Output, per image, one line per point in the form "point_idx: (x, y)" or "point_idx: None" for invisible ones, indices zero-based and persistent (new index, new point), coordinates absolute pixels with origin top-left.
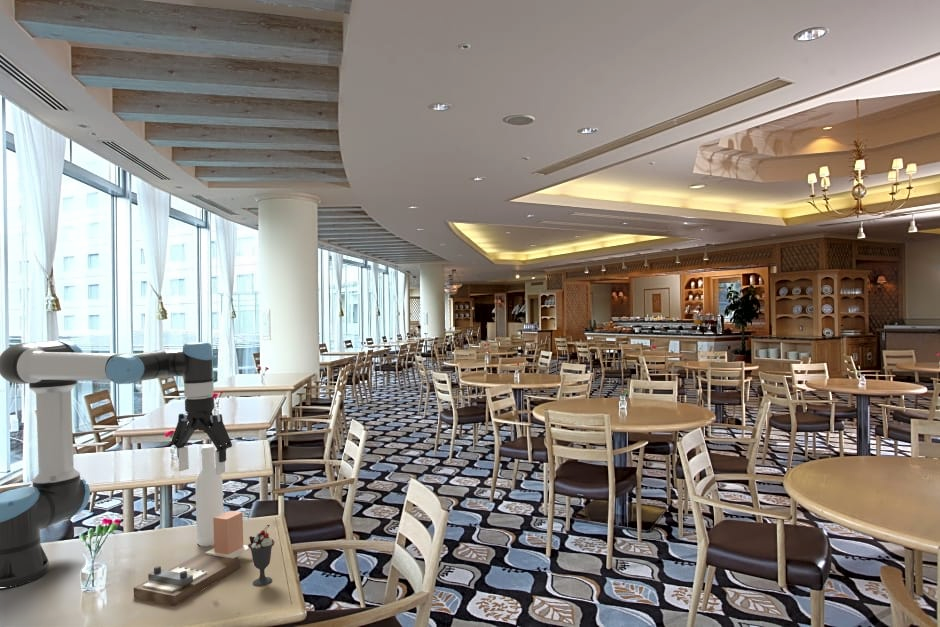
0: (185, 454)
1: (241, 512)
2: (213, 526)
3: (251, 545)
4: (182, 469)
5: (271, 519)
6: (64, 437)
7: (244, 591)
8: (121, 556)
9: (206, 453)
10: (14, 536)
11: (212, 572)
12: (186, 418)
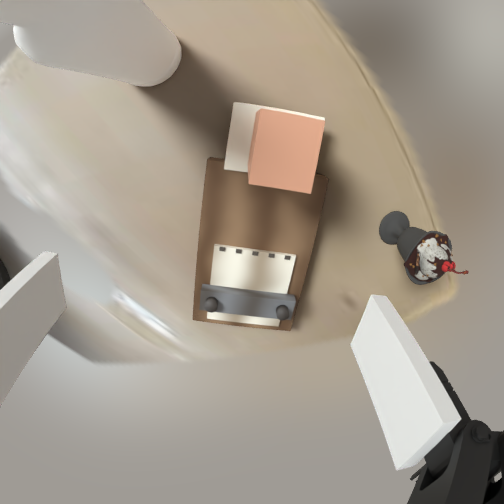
0: (4, 337)
1: (323, 123)
2: (161, 65)
3: (415, 274)
4: (60, 302)
5: None
6: None
7: (377, 262)
8: (32, 180)
9: None
10: None
11: (304, 248)
12: None
